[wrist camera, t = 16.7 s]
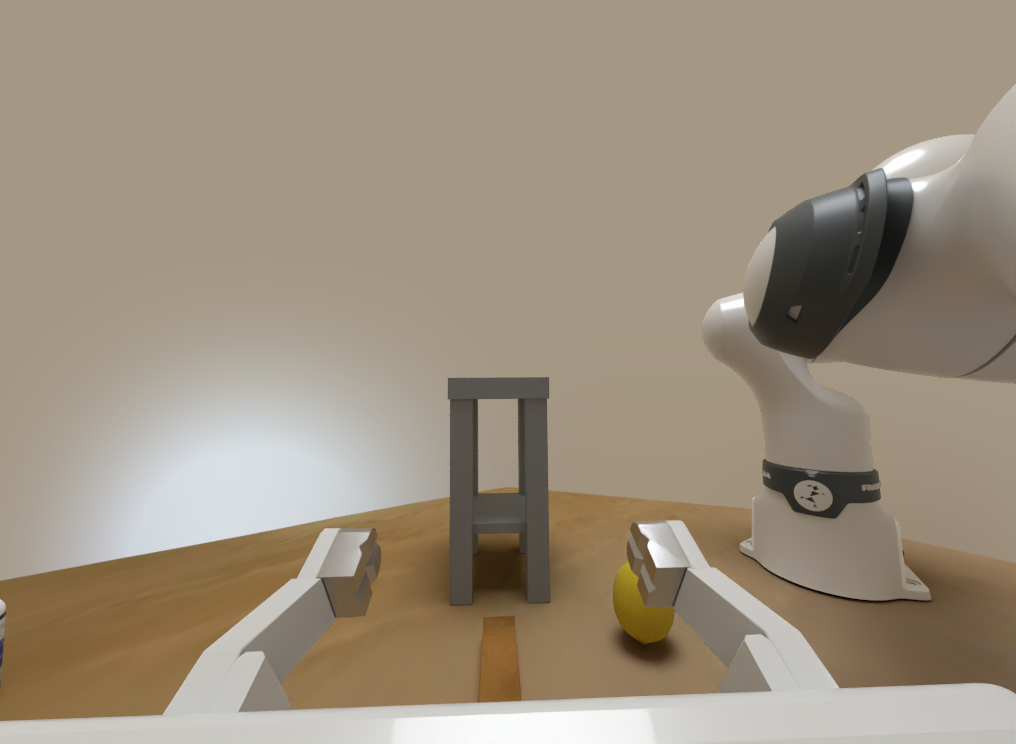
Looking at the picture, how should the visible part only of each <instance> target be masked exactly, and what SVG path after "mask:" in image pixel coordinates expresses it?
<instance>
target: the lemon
mask: <svg viewBox="0 0 1016 744" xmlns="http://www.w3.org/2000/svg"><path fill="white" fill-rule="evenodd" d="M638 579H639V577H637V576H636V575H635V574H634V573H633V572H632V570H631V568H630V565H629V561H628V562H626V563H625V564H623V565H622V566H621V568H620V569H619V571H618V572H617V575H616V578H615V581H614V588H613V603H614V609H615V613H616V615H617V618H618V620H619V622H620V624H621V626H622V627H623V628H624V630H625V631H626V632H627V633H628V634H629V635H630V636H632V637H633V638H635V639H637V640H639V641H640V642H641V643H642V644H644V645H647V644H648V643H652V642H657V641H660V640H661V639H663V638H664V637H665V636H666V635H667V634H668V632H669V631H670V629H671V626H672V624H673V619H674V609H673V607H645V606H644V603H643V600H642V598H641V595H640V592H639V590H638V587H637V583H638Z"/></svg>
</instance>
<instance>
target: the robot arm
mask: <svg viewBox="0 0 1016 744" xmlns="http://www.w3.org/2000/svg"><path fill="white" fill-rule="evenodd" d="M743 289H744V290H743V293H740V294H736V295H732V296H729V297H725V298H722V299H719V300H717V301H716V302H715V303H714V304H713V305H712V306H711V307H710V308H709V310H708V311H707V313H706V315H705V317H704V320H703V324H702V337H703V341H704V344H705V346H706V348H707V349H708V351H709V352H710V353H711V354H712V355H713V356H714V357H715V358H716V359H717V360H719V361H720V362H722V363H724V364H726V365H727V366H729V367H730V368H732V369H733V370H734V371H735V372H737V373H738V374H739V375H740V376H741V377H742V378H743V379H744V381H745V382H746V383H747V384H748V386H749V387H750V389H751V390H752V392H753V393H754V395H755V397H756V399H757V402H758V405H759V408H760V412H761V417H762V423H763V430H764V439H765V451H766V459H764V460H763V468H762V474H763V484H764V485H765V488H764V490H763V491H762V492H761V493H759V494H757V495H756V496H755V497H753V499H752V537H751V538H749V539H747V540H745V541H743V542H741V543H740V551H741V552H743V553H744V554H746V555H748V556H750V557H752V558H754V559H756V560H757V561H758V562H759V563H760V564H761V565H763V566H764V567H765V568H766V569H768V570H770V571H771V572H773V573H775V574H776V575H778V576H780V577H782V578H785V579H787V580H789V581H792V582H794V583H797V584H799V585H802V586H805V587H808V588H811V589H815V590H818V591H822V592H825V593H829V594H833V595H838V596H843V597H848V598H855V599H863V600H891V599H899V598H905V599H914V600H931V595H930V590H929V589H928V588H927V587H926V586H925V584H924V583H923V582H922V581H921V580H920V579H919V578H918V577H917V576H916V575H915V574H914V573H913V572H912V571H911V570H910V568H909V567H908V566H907V565H906V564H905V563H904V558H903V557H904V551H903V549H902V540H901V532H900V525H899V522H898V521H897V520H895V519H894V518H893V516H892V515H890V514H889V513H887V512H886V511H885V510H884V509H883V508H882V507H881V505H880V504H879V502H878V500H879V499H881V495H880V487H881V483H880V480H879V476H878V471H876V470H875V469H874V468H873V461H872V445H871V433H870V418H869V415H868V413H867V411H866V410H865V408H864V407H863V406H862V405H861V404H860V403H859V402H858V401H857V400H855V399H854V398H852V397H850V396H848V395H845V394H844V393H841V392H838V391H836V390H833V389H830V388H827V387H824V386H822V385H819V384H818V383H817V382H816V381H815V380H814V379H813V378H812V376H811V375H810V373H809V371H808V367H807V364H808V363H828V362H829V363H832V362H848V363H853V364H858V365H863V366H868V367H873V368H879V369H885V370H892V371H897V372H903V373H910V374H917V375H925V376H932V377H940V378H958V379H967V380H977V381H987V382H1000V383H1015V384H1016V84H1015V85H1014V86H1013V87H1012V88H1011V89H1010V90H1009V91H1008V92H1007V93H1006V94H1005V95H1004V97H1003V98H1002V99H1001V100H1000V101H999V103H998V104H997V105H996V106H995V107H994V108H993V110H992V111H991V112H990V113H989V115H988V116H987V118H986V119H985V121H984V122H983V124H982V125H981V127H980V128H979V129H978V131H977V133H976V134H972V135H971V134H964V135H951V136H945V137H940V138H936V139H932V140H928V141H924V142H921V143H918V144H916V145H913V146H911V147H909V148H906V149H904V150H902V151H900V152H898V153H896V154H894V155H893V156H891V157H889V158H888V159H886V160H885V161H884V162H882V163H881V164H879V165H878V166H876V167H875V168H874V169H873V170H872V171H870V172H867V173H864V174H863V175H862V176H860V177H859V178H858V179H857V180H856V181H855V182H854V183H853V184H851V185H850V186H849V187H846V188H844V189H840V190H837V191H833V192H830V193H827V194H824V195H821V196H818V197H815V198H812V199H809V200H806V201H804V202H802V203H800V204H799V205H797V206H796V207H794V208H793V209H791V210H790V211H788V212H787V213H785V214H784V215H783V216H781V217H780V218H778V219H777V220H775V221H774V223H773V224H772V225H771V227H770V230H769V232H768V234H767V235H766V237H764V239H763V240H762V241H761V243H760V244H759V246H758V247H757V249H756V251H755V253H754V254H753V256H752V258H751V260H750V263H749V265H748V268H747V271H746V275H745V279H744V287H743ZM630 530H631V533H632V535H633V536H632V537H631V538H629V539H628V543H627V557H628V561H629V565H630V568H631V570H632V572H633V573H634V574H635V575H636V576H637V577H639V579H638V583H637V587H638V590H639V592H640V595H641V598H642V600H643V603H644V606H645V607H673V609H674V610H675V612H676V613H677V614H678V615H679V616H680V617H681V618H682V619H683V620H684V621H685V622H686V623H687V624H688V625H689V627H690V628H691V629H692V630H693V631H694V632H695V633H696V634H697V635H698V636H699V637H700V638H701V639H702V641H703V642H704V643H705V644H706V645H707V646H708V647H709V648H710V649H711V650H712V651H713V652H714V653H715V654H716V656H717V657H718V658H719V659H720V660H721V661H722V662H723V663H724V664H725V665H726V666H727V667H728V670H727V672H726V674H725V676H724V678H723V680H722V681H721V684H720V686H719V689H720V692H721V693H712V694H687V695H661V696H635V697H610V698H584V699H558V700H532V701H506V702H481V703H455V704H430V705H405V706H379V707H354V708H329V709H304V710H289V709H290V706H291V703H290V700H289V698H288V696H287V695H286V693H285V691H284V689H283V687H282V686H281V683H282V682H283V681H284V679H285V678H286V677H287V676H288V675H289V674H290V672H291V671H292V670H293V669H294V668H295V667H296V665H297V664H298V663H299V662H300V661H301V660H302V658H303V657H304V656H305V655H306V654H307V653H308V651H309V650H310V649H311V648H312V647H313V646H314V644H315V643H316V642H317V641H318V640H319V639H320V637H321V636H322V635H323V634H324V633H325V632H326V630H327V629H328V628H329V627H330V626H331V625H332V623H333V622H334V621H335V618H341V617H358V616H365V615H366V612H367V608H368V605H369V602H370V599H371V596H372V590H371V586H370V585H371V584H372V583H373V582H374V581H375V580H376V579H377V576H378V573H379V569H380V563H381V550H380V546H379V545H378V544H377V543H376V539H377V533H376V529H374V528H325V529H324V530H323V531H322V532H321V533H320V535H319V537H318V539H317V541H316V543H315V545H314V546H313V548H312V550H311V552H310V554H309V556H308V558H307V560H306V562H305V564H304V566H303V568H302V569H301V571H300V573H299V575H298V577H297V579H291V580H290V581H289V582H287V583H286V584H285V585H284V586H282V587H281V588H280V589H279V590H278V591H276V592H275V593H274V594H273V595H272V596H270V597H269V598H268V599H267V600H265V601H264V602H263V603H262V604H261V605H259V606H258V607H257V608H256V609H255V610H253V611H252V612H251V613H250V614H248V615H247V616H246V617H245V618H244V619H242V620H241V621H240V622H239V623H238V624H236V625H235V626H234V627H233V628H231V629H230V630H229V631H228V632H227V633H225V634H224V635H223V636H222V637H220V638H219V639H218V640H217V641H216V642H214V643H213V644H212V645H211V646H210V647H208V648H207V649H206V650H205V651H204V652H203V653H202V655H201V656H200V658H199V659H198V661H197V662H196V664H195V665H194V667H193V669H192V670H191V672H190V673H189V675H188V676H187V678H186V679H185V681H184V683H183V684H182V686H181V687H180V689H179V690H178V692H177V693H176V695H175V697H174V698H173V700H172V701H171V703H170V704H169V706H168V707H167V709H166V711H165V712H164V714H163V715H152V716H127V717H101V718H75V719H49V720H19V721H0V744H1016V694H1015V693H1014V692H1012V691H1010V690H1008V689H1006V688H1003V687H1000V686H997V685H993V684H985V683H963V684H940V685H915V686H889V687H863V688H839V687H838V685H837V684H836V682H835V681H834V679H833V678H832V677H831V675H830V674H829V672H828V671H827V669H826V668H825V667H824V665H823V664H822V662H821V661H820V659H819V658H818V657H817V655H816V654H815V652H814V651H813V649H812V648H811V647H810V645H809V644H808V642H807V641H806V639H805V638H804V637H803V635H802V634H801V632H800V631H798V630H797V629H796V628H794V627H793V626H792V625H790V624H789V623H788V622H786V621H785V620H784V619H782V618H781V617H780V616H779V615H777V614H776V613H775V612H773V611H772V610H771V609H769V608H768V607H767V606H765V605H764V604H763V603H761V602H760V601H759V600H757V599H756V598H755V597H753V596H752V595H751V594H749V593H748V592H747V591H745V590H744V589H743V588H741V587H740V586H739V585H737V584H736V583H735V582H734V581H732V580H731V579H730V578H728V577H727V576H726V575H724V574H723V573H722V572H720V571H719V570H718V569H716V568H715V567H709V565H708V563H707V561H706V560H705V558H704V556H703V555H702V553H701V551H700V550H699V548H698V546H697V544H696V543H695V541H694V539H693V538H692V536H691V534H690V533H689V531H688V529H687V527H686V526H685V524H684V523H683V522H682V521H681V520H680V521H639V522H633V523H632V525H631V529H630Z"/></svg>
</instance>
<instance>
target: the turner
mask: <svg viewBox="0 0 1016 744" xmlns="http://www.w3.org/2000/svg"><path fill="white" fill-rule="evenodd" d="M506 701H521V692H520V679H519V667H518V655H517V643H516V631H515V619H514V616H505V617H484V620H483V638H482V656H481V674H480V693H479V703H481V702H506Z"/></svg>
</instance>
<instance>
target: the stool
mask: <svg viewBox="0 0 1016 744" xmlns="http://www.w3.org/2000/svg"><path fill="white" fill-rule="evenodd" d="M547 398H549V377H545V378H448V399H450V605H472V597H473V554H478V534H498V533H519V547H520V553H526V592H527V599H528V603H546V602H550V584H549V515H548V446H547ZM478 399H518V455H519V457H518V459H519V493H486V494H478Z"/></svg>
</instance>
